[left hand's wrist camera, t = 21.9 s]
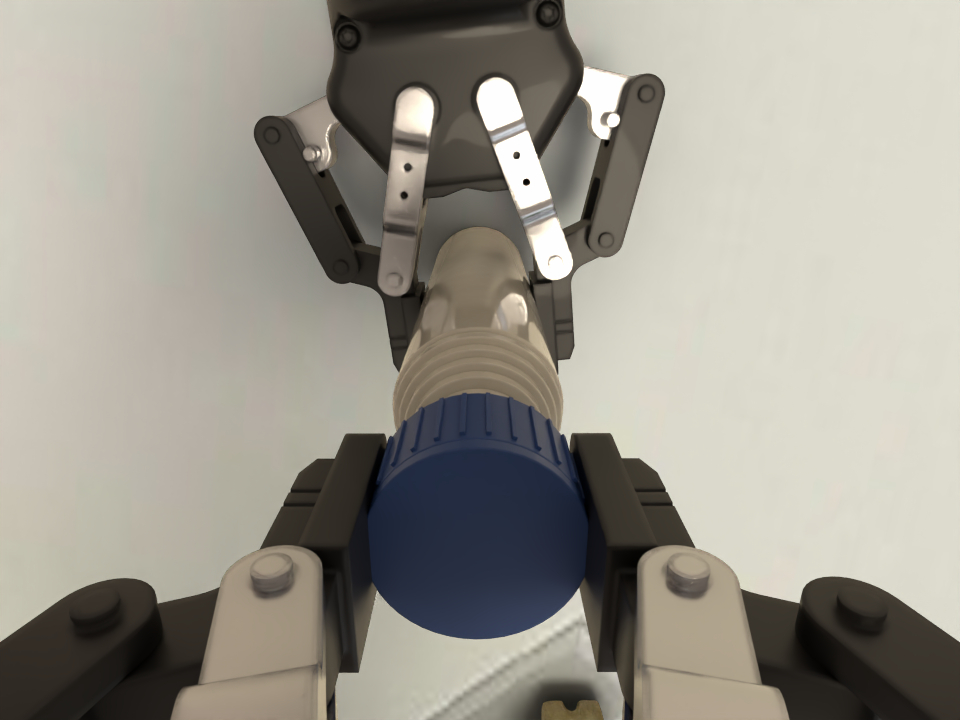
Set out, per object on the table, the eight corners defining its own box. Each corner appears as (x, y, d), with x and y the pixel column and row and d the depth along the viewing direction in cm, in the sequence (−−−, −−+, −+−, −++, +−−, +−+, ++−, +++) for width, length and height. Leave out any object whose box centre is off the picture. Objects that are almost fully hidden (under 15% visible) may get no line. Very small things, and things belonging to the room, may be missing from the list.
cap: (494, 592, 13) (495, 676, 11) (339, 495, 12) (312, 567, 10) (618, 464, 12) (645, 532, 10) (458, 349, 11) (454, 397, 9)
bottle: (513, 217, 29) (576, 393, 10) (530, 303, 30) (614, 599, 11) (425, 237, 29) (325, 444, 10) (446, 321, 31) (392, 638, 12)
